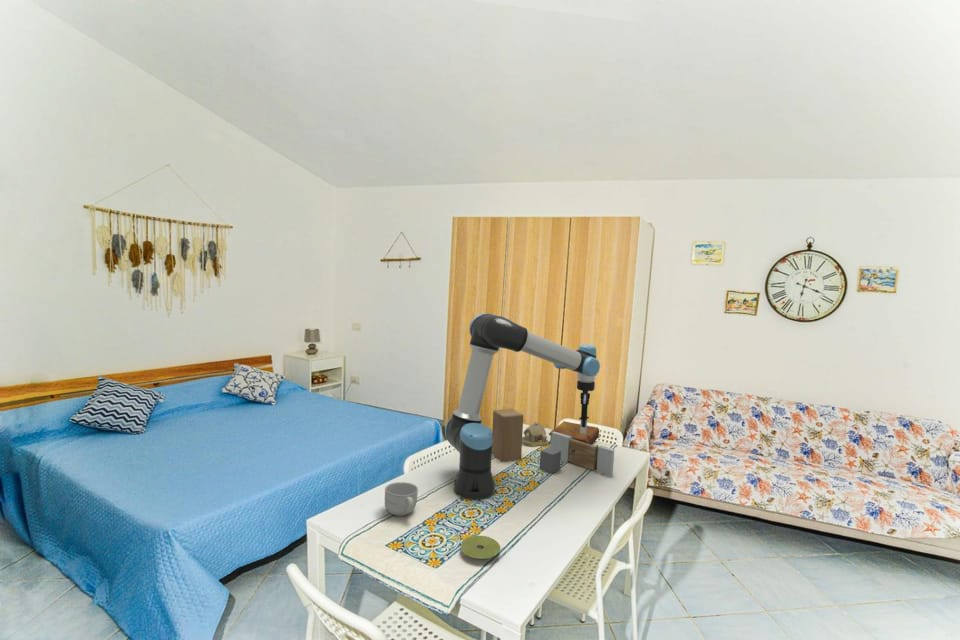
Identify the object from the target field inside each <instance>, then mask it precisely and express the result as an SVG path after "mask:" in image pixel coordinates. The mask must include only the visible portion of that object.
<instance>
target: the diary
mask: <svg viewBox="0 0 960 640" xmlns="http://www.w3.org/2000/svg"><path fill="white" fill-rule="evenodd" d="M580 424H581V423H577V422H576V423H575V422H570V421H569V422H568V421H564V420H563V422H561V423H560V424H558V425H557V426H556V427H555V428H554V429H553V430H551V431H550V432H548V436H551V432H557V433H561V434H564V435H568V436H571V437H572V439H574V440H577V441H581V442H584V443H587V444H590V445H593V444H594V443H595V442H596V441H597V439H599V437H600V428H599V427H597V426H592V425H587V432H586V434H580ZM549 440H550V441H548V442H549V443H550V444H549V443H548V444H549V445H551V437H550V438H549Z"/></svg>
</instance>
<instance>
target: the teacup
mask: <svg viewBox="0 0 960 640" xmlns="http://www.w3.org/2000/svg"><path fill="white" fill-rule="evenodd" d="M418 493H419V487H418V486H417V485H416V484H413V483H412V482H406V481H399V482H398V481H395V482H391V483H389V484H387V485H386V486H385V487H384V507H385V509H386V510H387V511H388V512H389V513H390V514H392V515H393V516H399V517H401V516H407V515H408V514H410V513H412V512H413V511H414V510H415V508H416V506H417V502H418Z"/></svg>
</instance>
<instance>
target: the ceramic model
mask: <svg viewBox="0 0 960 640" xmlns="http://www.w3.org/2000/svg"><path fill="white" fill-rule="evenodd" d="M523 434H524V436H522V446H526V447H537V446H546V445H548V444H549V442H550V441H549V440H548V439H547V438H548V436H547V432H546V430H545V428H544V427H543V426H542V425H541V423H539V422H536V421H535V422H533V424H530V425H529V426H528V427H526V428H525V430H523V433H522V435H523Z"/></svg>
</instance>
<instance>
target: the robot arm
mask: <svg viewBox="0 0 960 640" xmlns="http://www.w3.org/2000/svg"><path fill="white" fill-rule="evenodd" d="M469 334H470V336H471V337H470V341H469V346H470V347H471V353H470V357H469V361H468V366H467V369H466V375H465V378H464V381H463V387H462V390H461V395H460V398H459V403H458V408H457V409H455V410H454V411H453V412H452V416H451V418H449V419H448V420H447V422H446V423H445V427H444V435H445V437H446V441H448V443H449V444H450V445H451V447H453V448H454V449H455V450H456V451H457V452H458V453H459V465H458V466H459V468H458V471H457V474H456V478H455V480H454V481H453V492H454V493H455V494H456V495H457V496H458V497H461V498H463V497H464V499H467V498H468V499H467V500H484V499H487V498H490V497H492V496H493V495H494V494H495V492H496V483H495V481H494V477H493V473H492V459H493V457H492V456H493V455H492V443H493V438H492V430H491V428H490V427H489V426H487V424H482V419H483V418H482V416H481V415H480V412H481V408H482V403H483V399H484V395H485V391H486V386H487V383H488V379H489V374H490V370H491V367H492V362H493V359H494V355H495V354H497V353H499V351H500V349H506V350H509V351H513V352H515V353H519V352H523V353H526V354H528V355H531V356H533V357H536V358H539V359H542V360H544V361H547V362H550V363H552V364H553V366H554V367H555V368H556V369H558V370H559V369H560V370H563V369H564V370H565V369H567V370H570V371H572V372H576V375H577V376H576V379H577V381H576V389H577V390H579V391H582V392H580V396H579V397H580V404H581V406H580V407H581V412H580V417H579V420H580V423H579V424H580V434H586V432H587V426H588V419H589V418H590V417H589V416H588V407H589V403H590V397H591V393H589V392H593V391H595V387H596V386H595V385H596V383H595V381H596V377H597V375H598V373H599V372H600V368H601V364H600V361H599V359H597V347H596V346H595V345H592V344H580V345H579V346H578V349H577V350H576V349H575V350H574V349H572V348H570V347H567V346H564V345H562V344H559V343H556V342H554V341H551V340H549V339H546V337H545V338H544V337H543V336H542V337H541V336H540V335H537V334H534V333H532V332H529V330H528V329H527V328H526V327H524V326H522V325H519V324H517V323H516V322H514V321H512V320H510V319H509V318H506V317H504V316H502V315H495V314H493V313H481V314H477V315H476V316H475V317H474V318H473V319H472V320H471V322H470V324H469Z"/></svg>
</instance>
